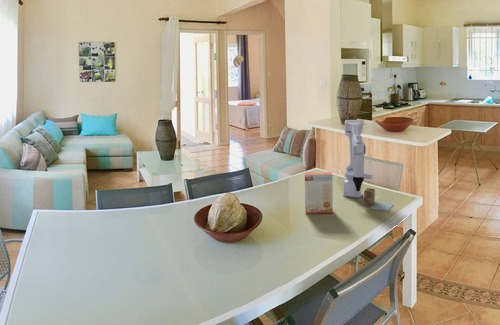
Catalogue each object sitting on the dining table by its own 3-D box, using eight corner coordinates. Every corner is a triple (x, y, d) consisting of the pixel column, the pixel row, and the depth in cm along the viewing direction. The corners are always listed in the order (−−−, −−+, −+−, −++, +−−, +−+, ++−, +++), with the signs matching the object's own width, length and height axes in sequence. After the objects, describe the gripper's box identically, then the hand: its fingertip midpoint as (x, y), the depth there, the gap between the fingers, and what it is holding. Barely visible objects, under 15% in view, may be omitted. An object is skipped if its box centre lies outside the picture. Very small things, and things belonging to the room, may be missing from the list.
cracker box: (331, 209, 228) (331, 171, 224) (332, 213, 222) (332, 174, 218) (304, 210, 230) (304, 171, 225) (305, 213, 224) (304, 174, 219)
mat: (370, 209, 227) (370, 208, 227) (376, 202, 237) (376, 202, 237) (388, 211, 222) (388, 210, 222) (393, 204, 232) (393, 204, 232)
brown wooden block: (363, 206, 232) (364, 191, 230) (367, 203, 237) (367, 188, 235) (371, 207, 230) (371, 191, 228) (374, 204, 235) (374, 189, 233)
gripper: (343, 166, 232) (342, 191, 235) (370, 169, 225) (369, 194, 228) (347, 163, 238) (347, 187, 241) (373, 166, 231) (373, 190, 233)
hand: (358, 190), depth 235 cm, fingers closed
